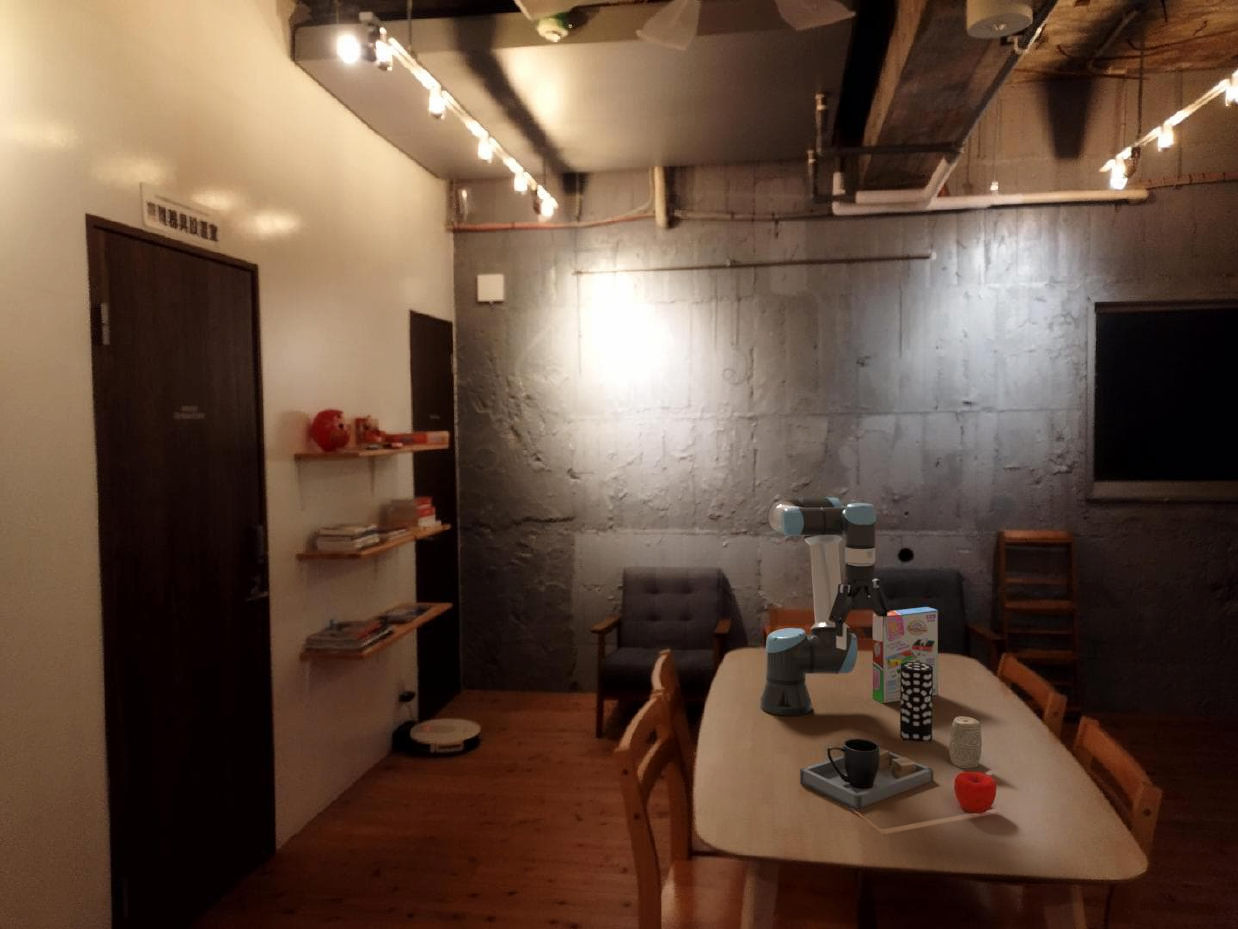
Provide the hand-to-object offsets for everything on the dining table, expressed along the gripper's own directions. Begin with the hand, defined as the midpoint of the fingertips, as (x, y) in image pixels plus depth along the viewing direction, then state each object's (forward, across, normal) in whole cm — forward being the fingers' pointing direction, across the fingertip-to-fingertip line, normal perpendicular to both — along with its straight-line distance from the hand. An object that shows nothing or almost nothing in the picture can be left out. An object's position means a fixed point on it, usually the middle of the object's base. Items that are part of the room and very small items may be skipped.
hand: (859, 644), depth 224 cm
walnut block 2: (+28, -4, -18) cm, 34 cm away
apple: (+29, -4, -37) cm, 47 cm away
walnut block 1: (+28, -4, -10) cm, 30 cm away
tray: (+29, -13, -14) cm, 34 cm away
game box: (+29, +45, +22) cm, 58 cm away
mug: (+28, -17, -14) cm, 36 cm away
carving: (+29, +15, -21) cm, 39 cm away
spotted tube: (+29, +20, -2) cm, 35 cm away
